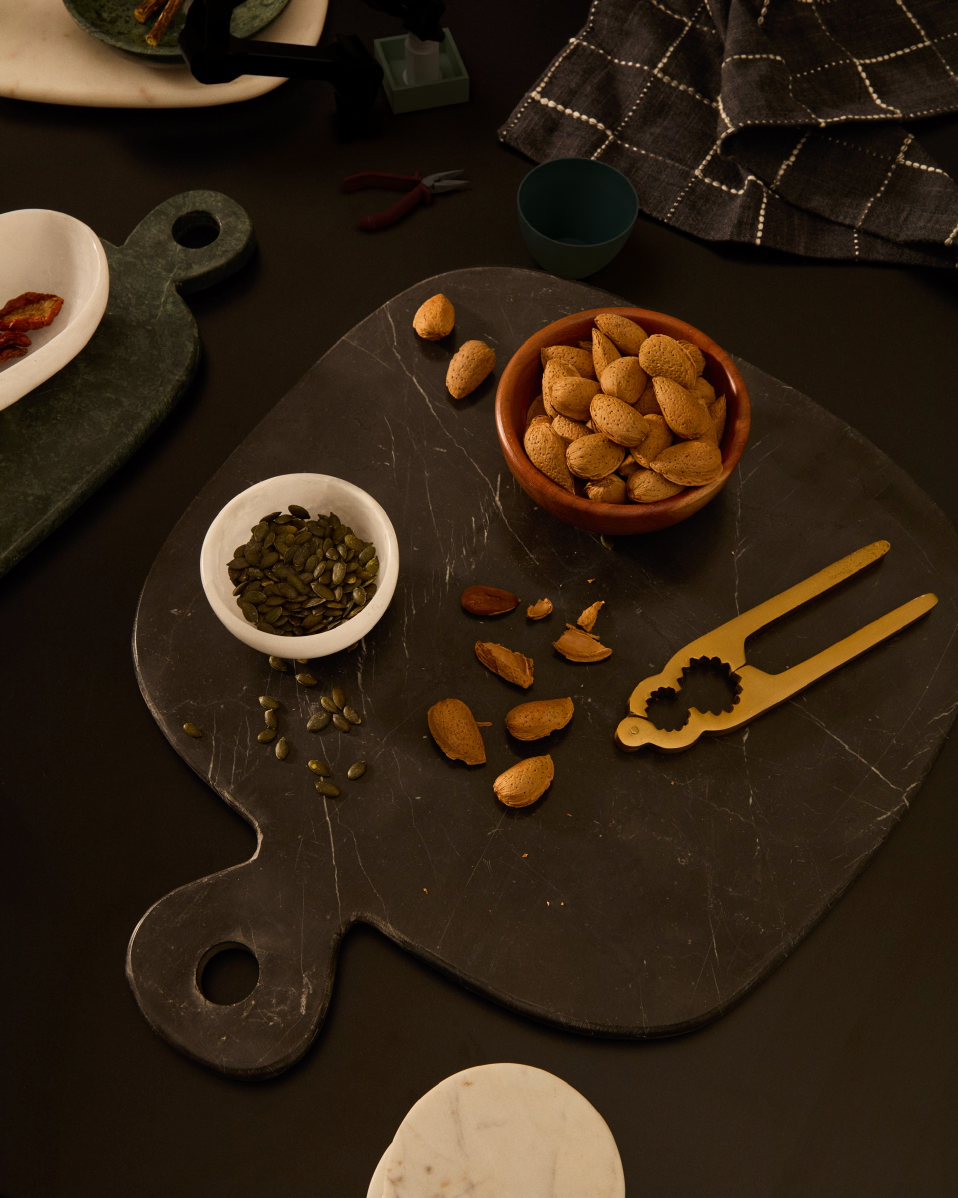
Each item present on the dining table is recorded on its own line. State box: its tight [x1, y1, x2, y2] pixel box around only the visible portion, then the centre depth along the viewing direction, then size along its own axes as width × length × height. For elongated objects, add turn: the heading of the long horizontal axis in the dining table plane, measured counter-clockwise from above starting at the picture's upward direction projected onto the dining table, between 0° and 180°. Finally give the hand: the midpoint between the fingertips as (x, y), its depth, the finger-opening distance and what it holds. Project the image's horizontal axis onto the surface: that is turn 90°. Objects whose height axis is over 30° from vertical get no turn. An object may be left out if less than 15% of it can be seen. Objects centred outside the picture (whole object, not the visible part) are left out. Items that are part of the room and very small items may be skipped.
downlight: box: [403, 31, 443, 85], centre depth 168 cm, size 8×7×10 cm
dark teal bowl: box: [516, 156, 640, 281], centre depth 151 cm, size 18×18×12 cm
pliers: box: [342, 168, 471, 231], centre depth 160 cm, size 12×20×3 cm, turn 111°
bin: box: [373, 27, 470, 115], centre depth 171 cm, size 14×14×5 cm
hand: (425, 28), depth 159 cm, fingers open, 9 cm apart
